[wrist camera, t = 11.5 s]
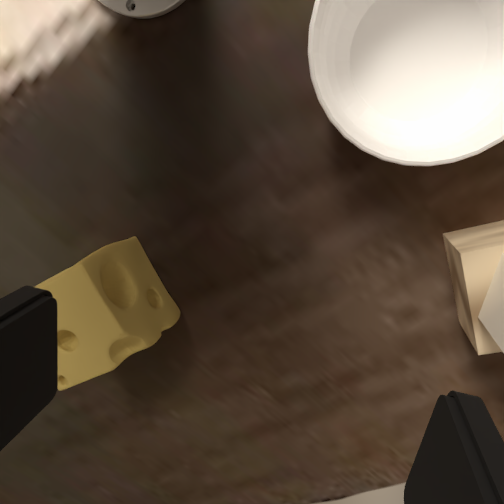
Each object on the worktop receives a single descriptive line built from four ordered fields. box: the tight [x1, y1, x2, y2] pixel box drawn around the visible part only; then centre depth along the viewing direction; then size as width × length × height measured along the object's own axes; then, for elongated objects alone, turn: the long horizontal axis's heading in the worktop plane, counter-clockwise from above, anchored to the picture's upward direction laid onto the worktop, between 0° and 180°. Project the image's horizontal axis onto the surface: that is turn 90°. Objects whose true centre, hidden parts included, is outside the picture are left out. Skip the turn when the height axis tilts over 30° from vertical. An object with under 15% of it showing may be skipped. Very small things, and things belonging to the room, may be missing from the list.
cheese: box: [35, 237, 181, 391], centre depth 41 cm, size 10×11×10 cm
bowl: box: [308, 0, 504, 166], centre depth 30 cm, size 16×16×8 cm
